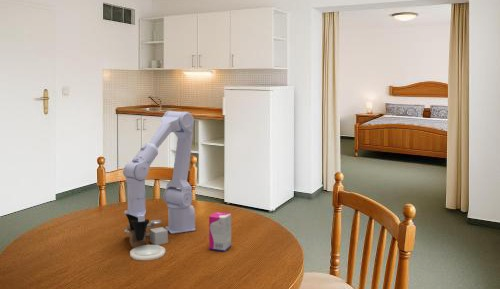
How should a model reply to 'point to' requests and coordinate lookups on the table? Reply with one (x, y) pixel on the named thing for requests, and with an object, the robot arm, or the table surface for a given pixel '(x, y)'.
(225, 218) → the supplement box
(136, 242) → the walnut block
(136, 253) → the dish
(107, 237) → the table surface
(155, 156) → the robot arm
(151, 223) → the balance
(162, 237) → the grey block
